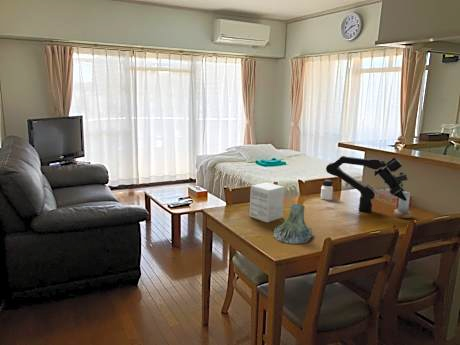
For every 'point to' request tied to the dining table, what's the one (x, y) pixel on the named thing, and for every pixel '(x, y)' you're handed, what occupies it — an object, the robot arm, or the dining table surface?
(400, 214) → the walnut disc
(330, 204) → the dining table surface
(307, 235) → the tree stump
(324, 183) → the medicine bottle
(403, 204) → the pale blue small block
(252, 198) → the supplement box
